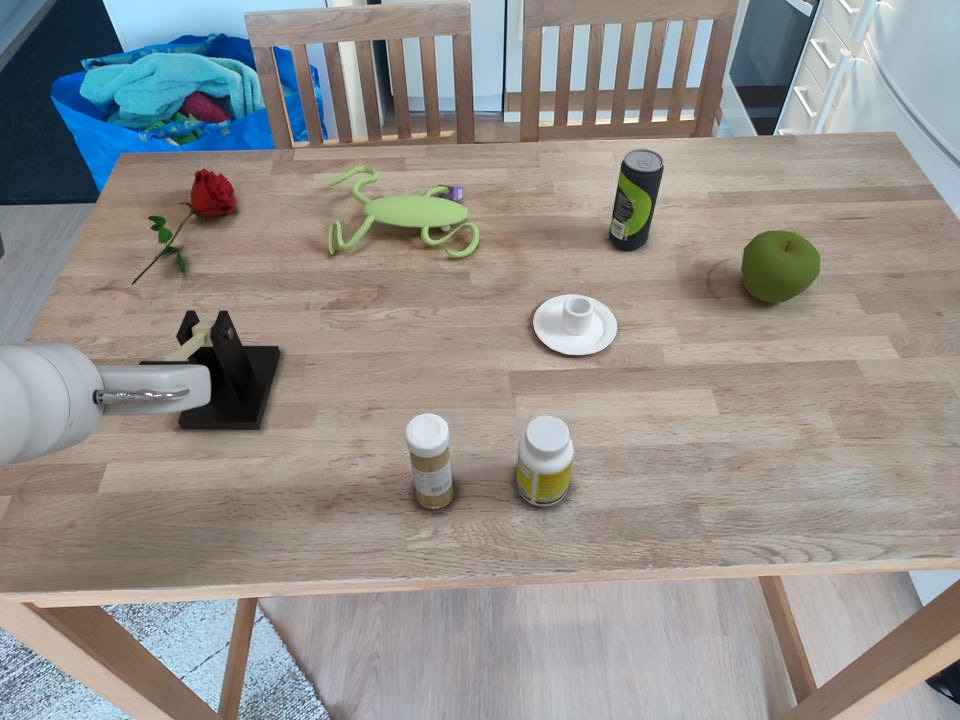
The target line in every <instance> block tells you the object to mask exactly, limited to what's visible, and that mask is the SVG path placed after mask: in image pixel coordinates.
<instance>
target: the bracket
mask: <svg viewBox="0 0 960 720" xmlns="http://www.w3.org/2000/svg"><path fill="white" fill-rule="evenodd" d="M200 321H201V320H200V318H199V316H198V314H197V311H196V310H191V309H189V310H186V312H185V314H184V317H183V319H182V321H181V324H180V326H179V328H178V331H177V332H176V335H175V338H176V340H177V342H178V344H179V345H180V346H179V347H181V346H182V345H183V344H185V343H186V342H187V341H188V340H190V339H191V338H192V337H193V333H192V327H194V326H195V325H196V324H198V323H199V322H200ZM214 321H215V324H214V327H213V329H212V332H211V334H210V339H211V341H212V343H213V345H214V346H213V347H200V348H199V349H197V350H196V351H195V352H194V353H193V354H191V355H190V356H189V357H188V358H187V359H186V360H187V361H189V362H190V364H191V365H203V366H206V367H207V368H208V369H209V373H210V381H211V397H210V401H209V403H207V404H206V405H203V406H200V407H196V408H192V409H188V410H184V411H181V413H180V416H179V418H178V420H177V423H178V425H179V427H180V428H181V429H182V430H183V429H184V430H188V429H189V430H260V427H261V424H262V421H263V417H264V414H265V411H266V406H267V403H268V399H269V396H270V392H271V389H272V384H273V382H274V378H275V374H276V371H277V368H278V364H279V361H280V356H281V350H280V347H279V346H278V345H243V344H242V341H241V339H240V337H239V334H238V332H237V330H236V327H235V325H234V322H233V320H232V318H231V316H230V313H229V310H219V311H218V314H217V315H216V319H215V320H214Z"/></svg>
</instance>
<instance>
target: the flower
mask: <svg viewBox="0 0 960 720" xmlns="http://www.w3.org/2000/svg"><path fill="white" fill-rule="evenodd" d="M234 193H235V188H234V186H233V184H231V182H230V180H228V178H227V177H225V175H224V174H223V173H219V174H218V175H216V173H215V172H214V170H211V171H209V170H208V169H207V168H202V169H201V170H196V171H195V173H194V180H193V183H192V187H191V190H190V202H179V203H178V205H186V206H188V207H189V209H190V213H189V214H188V215H187V216H186V217H185V218H184V219H183V221H181V223H180V224H179V226H178V228H177V230H176V232H175V233H174V234H173V232H172V231H171V229H169V228H168V227H165V225H166V223H167V219H166V218H165V217H163V216H160V215H150V216H148V218H147V220H149V221H152V222H153V225H151V227H150V229H151V230H152V231H154V232H157V233H158V234H157V243H158V244H165V247H164V248H163V249H162V250H161V252H159V254H157V256H155V257H154V259H153V260H152V261H151V263H150V264H149V265H147V267H145V269H143V271H142V272H140V273H139V275H137V277H135V278H134V280H133V281H132V283H131V285H132V286H133V285H135V284H136V283H137V282H138V280H140V279H141V278H142V277H143V276H144V274H145V273H146V272H147V271H148V270H149V269H150V268H152V266H153V265H154V264H155V263H157V261H158V260H159V259H160V258H161V257H162V256H165V255H167V254H169V253H170V252H172V251H174V250H176V251H177V254H176V260H177V263H178V267H179V269H180V271H181V272H182V273H183V274H185V273H186V264H185V261H184V259H183V257H182V255H181V254H180V252H179V251H180V250H181V247H174V246H172V244H173V243H174V241H175V239H176V238H177V236H178V234H179V233H180V231H181V229H182V228H183V226H184V224H185V223H186V222H187V221H188V220H189V219H190V217H191V216H192V215H193V216H195V217H196V225H197V227H198V226H199V223H200V222H201V221H202V218H201V216H202V217H203V216H204V217H211V216H217V215H221V214H229V215H231V213H235V212H236V208H235V207H237V203H236V200H235V197H234Z"/></svg>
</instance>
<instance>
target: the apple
mask: <svg viewBox="0 0 960 720" xmlns="http://www.w3.org/2000/svg"><path fill="white" fill-rule="evenodd" d="M820 269H821V255H820V253H819V252H818V250H817V248H816V247H815V245H813V244H812V243H811V242H810V241H809V240H808V239H806V238H805V237H803V236H802V235H799V234H797V232H792V231H787V230H766V231H764V232H761V233H759V234H757V235H755V237H753V238H752V239H751V240H750V241H749V242H748V243H747V245H746V246H744V248H743V253H742V261H741V267H740V271H741V275H742V279H743V282H744V286H745V289H746V291H748V292H749V294H750V295H752V297H755V298H757V299H758V300H760V301H763V302H767V303H775V304H776V303H777V304H778V303H780V304H781V303H784V302H787V301H789V300H791V299H793V298H795V297H796V296H799V295H800V294H802V293H804V292H805V291H806V290H807V289H808V288H809V287H810V286H811V285H812V284H813V283H814V281H816V279H817V278H818V277H819V275H820Z"/></svg>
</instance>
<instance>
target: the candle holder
mask: <svg viewBox="0 0 960 720" xmlns="http://www.w3.org/2000/svg"><path fill="white" fill-rule="evenodd" d="M532 320H533V321H532V324H533V329H534V332H535V334H536V336H537V337H538V339H539V340H540V341H541V342H542V343H543V344H544V345H545V346H547V347H548V348H549V349H551V350H552V351H556V352H559V353H561V354H564V355H569V356H570V355H571V356H585V355H591V354H596V353H598V352H600V351H602V350H603V349H605V348H607V347H608V346H609V345H611V343H612V342H613V341H614V340H615V338H616V335H617V332H618V323H617V320H616V316H615V315H614V313H613V312H612V310H611V309H610V308H609V307H608V306H606V304H604V303H603V302H601V301H600V300H598V299H595V298H594V297H593V298H592V297H590V296H587V295H582V294H574V293H573V294H561V295H557V296H554V297H551V298H549V299H547V300H546V301H544V302H542V303H541V304H540V305H539V307H538V308H537V309H536V311H535V312H534V315H533V318H532Z"/></svg>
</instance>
